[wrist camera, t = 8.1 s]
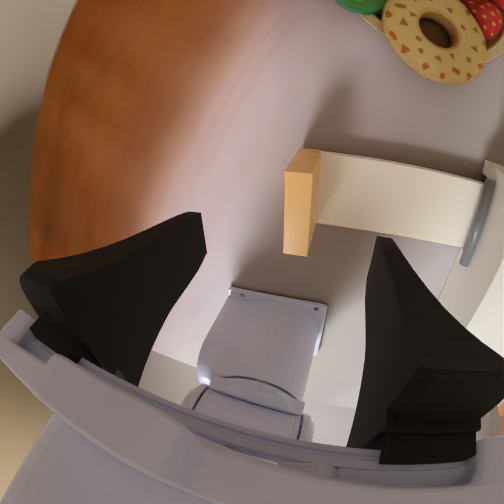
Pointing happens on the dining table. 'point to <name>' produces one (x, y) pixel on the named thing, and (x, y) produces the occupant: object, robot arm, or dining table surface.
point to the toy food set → (438, 34)
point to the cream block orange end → (375, 199)
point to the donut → (489, 425)
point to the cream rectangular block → (481, 268)
